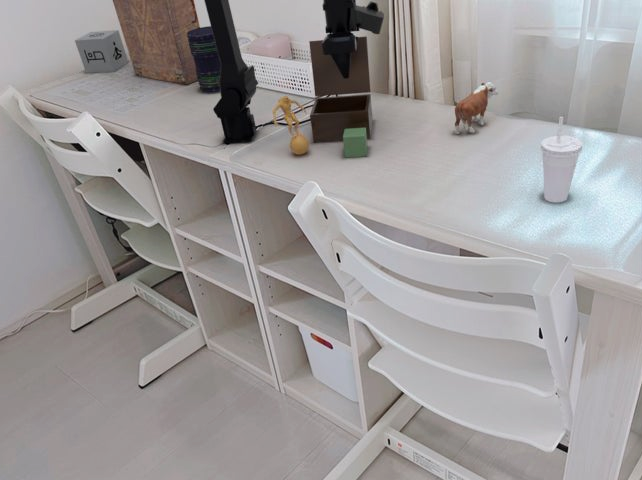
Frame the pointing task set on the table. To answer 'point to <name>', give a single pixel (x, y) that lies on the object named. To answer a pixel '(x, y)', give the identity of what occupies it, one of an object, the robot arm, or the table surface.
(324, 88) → the lid
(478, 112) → the bull figurine
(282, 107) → the figurine
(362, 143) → the block
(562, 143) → the smoothie
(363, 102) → the box
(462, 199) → the table surface
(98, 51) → the icon cube
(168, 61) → the book
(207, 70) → the storage jar
